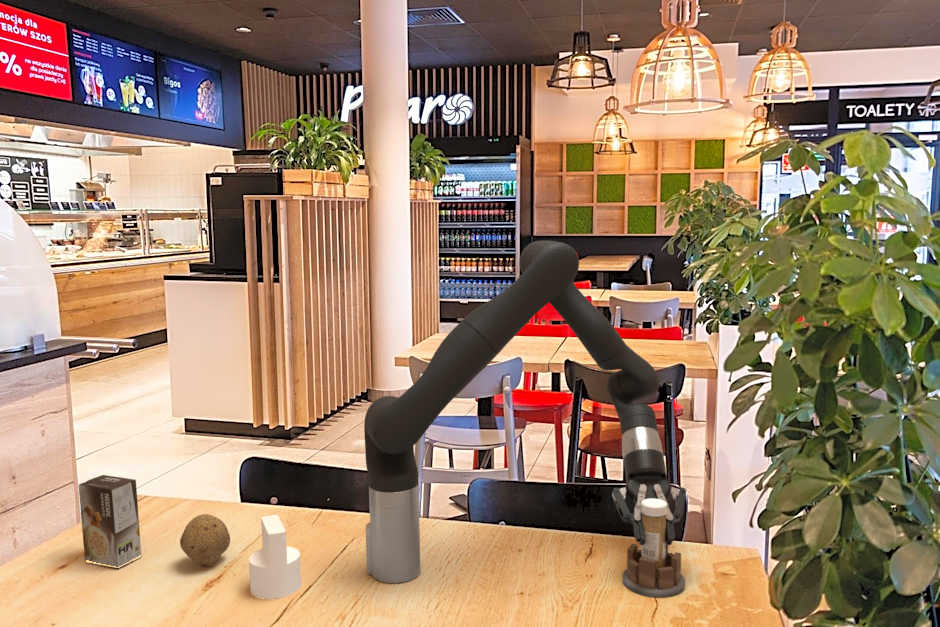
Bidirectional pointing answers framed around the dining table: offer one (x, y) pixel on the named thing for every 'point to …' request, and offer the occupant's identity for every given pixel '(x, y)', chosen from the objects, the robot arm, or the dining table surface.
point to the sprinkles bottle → (654, 530)
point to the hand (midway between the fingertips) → (656, 543)
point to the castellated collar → (653, 574)
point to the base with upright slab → (274, 563)
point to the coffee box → (110, 520)
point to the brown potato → (205, 539)
